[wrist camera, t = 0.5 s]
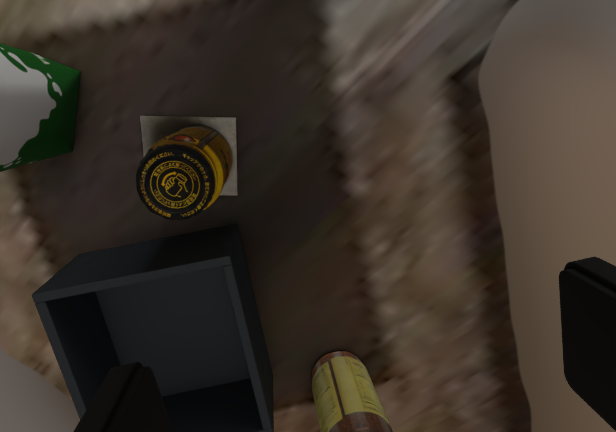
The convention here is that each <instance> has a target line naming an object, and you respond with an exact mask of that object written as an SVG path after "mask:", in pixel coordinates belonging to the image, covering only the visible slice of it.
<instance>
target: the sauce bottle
mask: <svg viewBox="0 0 616 432" xmlns="http://www.w3.org/2000/svg"><path fill="white" fill-rule="evenodd" d="M312 391H313V396H314V401H315V406H316V411H317V416H318V421H319V426H320V430H321V432H392V429H391V426H390V424H389V421H388V419H387V416H386V414H385V411H384V409H383V407H382V404H381V402H380V400H379V397H378V395H377V393H376V390H375V388H374V386H373V383H372V381H371V378H370V376H369V374H368V371H367V369H366V368H365V366H364V365H363V363H362V362H361V361H360V359H358V358H357V357H356V356H354V355H353V354H351V353H350V352H347V351H338V352H332V353H328V354H326V355H324V356H323V357H321V358H320V359H319V360H318V361H317V363H316V365H315V366H314V368H313V370H312Z"/></svg>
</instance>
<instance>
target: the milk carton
mask: <svg viewBox="0 0 616 432" xmlns="http://www.w3.org/2000/svg"><path fill="white" fill-rule="evenodd" d="M80 73H81V72H80V71H78V70H75V69H73V68H70V67H68V66H65V65H62V64H60V63H57V62H55V61H52V60H50V59H47V58H44V57H42V56H39V55H37V54H34V53H31V52H28V51H25V50H21V49H17V48H14V47H10V46H7V45H4V44H0V172H1V171H5V170H8V169H11V168H15V167H18V166H22V165H25V164H29V163H32V162H36V161H39V160H43V159H46V158H50V157H53V156H57V155H60V154H64V153H68V152H71V151H73V142H74V132H75V122H76V112H77V102H78V93H79V83H80Z"/></svg>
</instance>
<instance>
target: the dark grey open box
mask: <svg viewBox="0 0 616 432" xmlns="http://www.w3.org/2000/svg"><path fill="white" fill-rule="evenodd" d="M32 297H33V300H34V302H35V303H36V304H35V305H36V307H37V310H38V313H39V315H40V318H41V320H42V323H43V325H44V328H45V331H46V333H47V336H48V338H49V341H50V343H51V346H52V348H53V351H54V354H55V356H56V359H57V361H58V364H59V366H60V369H61V372H62V374H63V377H64V379H65V382H66V384H67V387H68V389H69V392H70V395H71V397H72V400H73V402H74V405H75V407H76V410H77V412H78V415H79V417H80V420H81V418H82V417H83V415H84V413H85V411H86V410H87V408H88V406H89V405H90V403H91V401H92V400H93V398H94V396H95V394H96V393H97V391H98V389H99V388H100V386H101V384H102V382H103V381H104V379H105V377H106V376H107V374H108V372H109V371H110V369H111V368H113V367H117V366H122V365H126V364H130V363H135V362H140V363H141V364H142V365H143V367H147V366H149V367H150V368H151V369H152V371H153V373H154V376H155V379H156V382H157V384H158V387H159V390H160V393H161V396H162V399H163V401H164V404H165V407H166V410H167V413H168V416H169V418H170V421H171V424H172V427H173V430H174V432H274V421H273V374H272V370H271V365H270V361H269V357H268V352H267V348H266V344H265V340H264V335H263V331H262V327H261V322H260V318H259V314H258V310H257V305H256V301H255V297H254V292H253V288H252V284H251V280H250V275H249V271H248V267H247V262H246V258H245V254H244V250H243V245H242V241H241V237H240V232H239V228H238V224H234V225H229V226H224V227H219V228H214V229H209V230H204V231H198V232H193V233H188V234H183V235H178V236H173V237H168V238H162V239H157V240H152V241H147V242H142V243H137V244H131V245H126V246H121V247H116V248H111V249H106V250H101V251H95V252H90V253H85V254H80V255H78V256H77V257H75V258H74V259H73V260H72V261H71V262H69V263H68V264H67V265H66V266H65V267H64V268H62V269H61V270H60V271H59V272H58V273H57V274H55V275H54V276H53V277H52V278H51V279H49V280H48V281H47V282H46V283H45V284H44V285H42V286H41V287H40V288H39V289H38V290H37V291H35V292H34V293H33V294H32Z"/></svg>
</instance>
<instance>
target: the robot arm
mask: <svg viewBox="0 0 616 432" xmlns="http://www.w3.org/2000/svg"><path fill="white" fill-rule="evenodd" d="M559 289H560V306H561V325H562V343H563V362H564V374H565V377H566V380H567V382H568V384H569V385H570V387H571V388H572V389H573V390H574V391H575V392H576V393H577V394H578V395H579V396H580V397H581V398H582V399H583V400H584V401H585V402H586V403H587V404H588V405H589V406H590V407H591V408H592V409H593V410H594V411H596V412H597V414H599V415H600V416H601V417H602V418H603V419H604V420H605V421H606V422H607V423H608V424H609V425H610V426H611V427H612V428H613V429H614V430H616V266H614V265H612V264H610V263H608V262H606V261H603V260H602V259H600V258H597V257H591V258H586V259H582V260H578V261H573V262H569V263H567V264H566V266H565V268H564V270H563V271H561V272H560V274H559ZM74 432H174V430H173V427H172V424H171V421H170V418H169V416H168V413H167V410H166V407H165V404H164V401H163V399H162V396H161V393H160V390H159V387H158V384H157V382H156V379H155V376H154V373H153V371H152V369H151V368H150V367H149V366H147V367H143V365H142V364H141V363H140V362H135V363H130V364H126V365H122V366H117V367H113V368H111V369H110V371H109V372H108V374H107V376H106V377H105V379H104V381H103V382H102V384H101V386H100V388H99V389H98V391H97V393H96V394H95V396H94V398H93V400H92V401H91V403H90V405H89V406H88V408H87V410H86V411H85V413H84V415H83V417H82V418H81V420H80V422H79V423H78V425H77V427H76V429H75V430H74Z"/></svg>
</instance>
